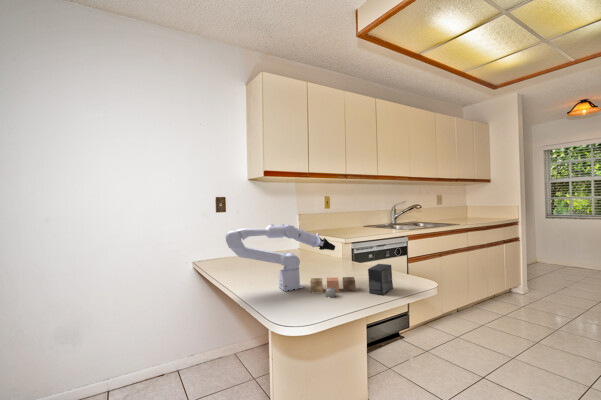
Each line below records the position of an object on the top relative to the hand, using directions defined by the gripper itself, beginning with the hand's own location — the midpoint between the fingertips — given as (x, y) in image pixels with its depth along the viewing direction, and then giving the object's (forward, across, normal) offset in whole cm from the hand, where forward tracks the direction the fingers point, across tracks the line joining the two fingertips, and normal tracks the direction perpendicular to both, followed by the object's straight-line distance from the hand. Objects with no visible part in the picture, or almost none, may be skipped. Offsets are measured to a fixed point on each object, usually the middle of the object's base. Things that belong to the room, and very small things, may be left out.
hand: (331, 247), depth 142 cm
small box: (+19, -21, +10) cm, 30 cm away
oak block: (-4, -9, +20) cm, 22 cm away
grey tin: (-1, -18, +19) cm, 26 cm away
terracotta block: (+3, -12, +18) cm, 21 cm away
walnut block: (+9, -14, +15) cm, 22 cm away
